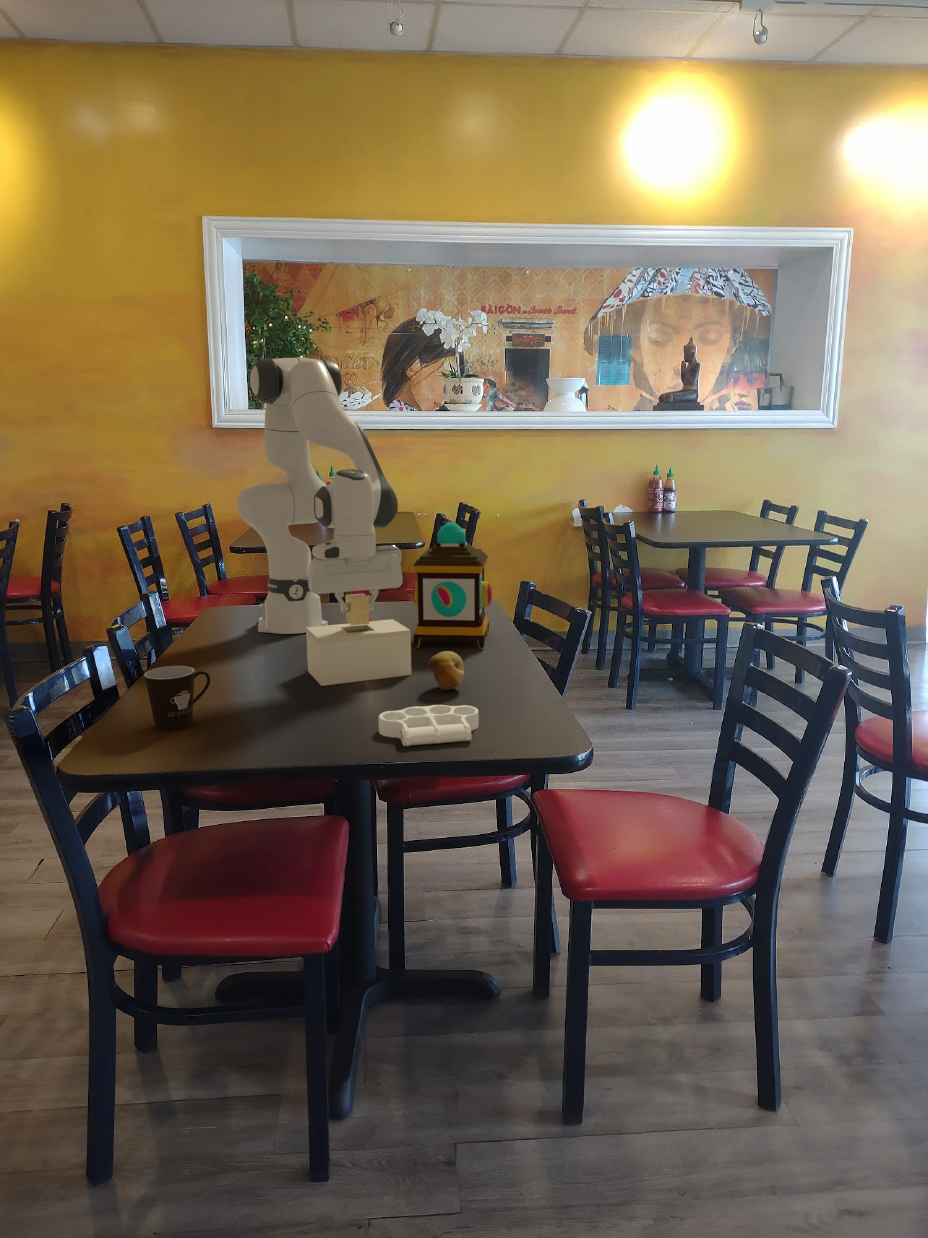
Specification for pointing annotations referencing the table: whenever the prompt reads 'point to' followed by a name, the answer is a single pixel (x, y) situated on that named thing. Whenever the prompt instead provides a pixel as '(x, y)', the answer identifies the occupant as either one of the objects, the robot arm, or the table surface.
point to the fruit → (447, 669)
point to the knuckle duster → (430, 724)
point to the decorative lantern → (451, 589)
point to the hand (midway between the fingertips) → (357, 610)
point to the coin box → (358, 652)
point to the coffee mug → (173, 696)
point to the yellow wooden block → (357, 609)
